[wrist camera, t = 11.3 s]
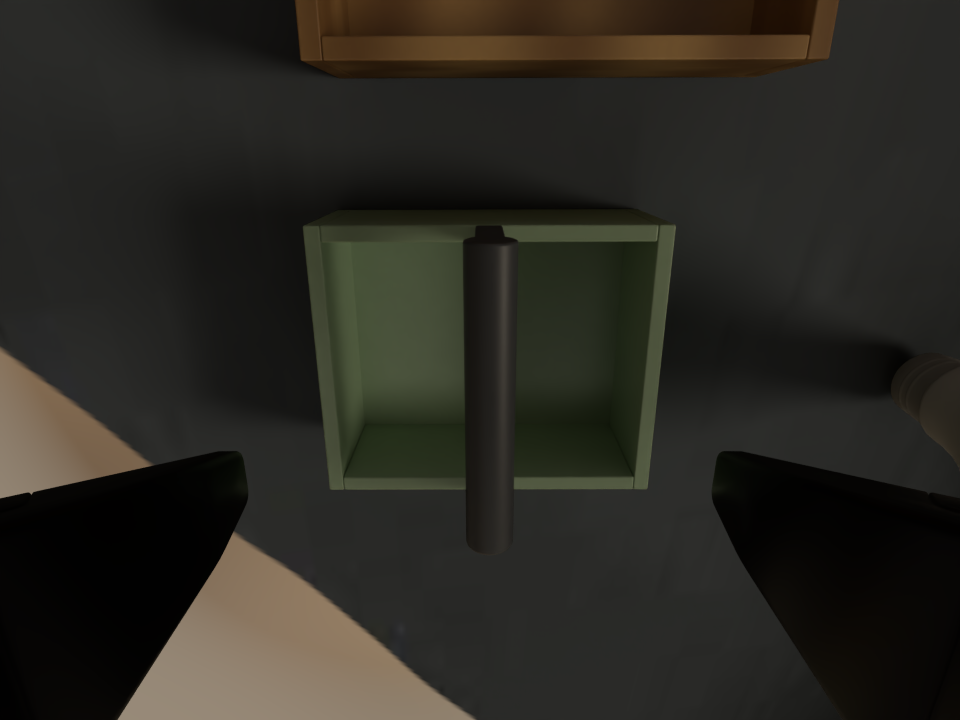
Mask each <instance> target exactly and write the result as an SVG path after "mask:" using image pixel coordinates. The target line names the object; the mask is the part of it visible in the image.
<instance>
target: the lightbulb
mask: <svg viewBox="0 0 960 720" xmlns="http://www.w3.org/2000/svg"><path fill="white" fill-rule="evenodd" d="M891 395H892V398H893V400H894V402H895V403H896V404H897V405H898V406H899V407H900V408H901V409H903V410H904V411H905V412H906V413H907V414H909V415H910V416H912V417H913V418H914V419H915V420H917V421H919V422H920V423H921V426H922V427H923V429H924V430H925V432H926V433H927V434H928V435H929V436H930V437H931V438H932V439H933V440H935V441H936V442H937V443H938V444H940V445H941V446H942V447H944V449H945V450H946V451H947V452H948V453H949V454H950V455H951V456H952V457H953V458H954V460H955V462H956V463H957V465H958V467H959V470H960V360H957V359H954V358H952V357H949V356H945V355H942V354H939V353H925V354H921V355H918V356H916V357H913V358H911V359H910V360H908V361H906V362H905V363H904V364H903V365H902V366H901V367H900V368H899V369H898V370H897V371H896V373H895V375H894V377H893V380H892V384H891Z"/></svg>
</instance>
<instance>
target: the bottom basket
mask: <svg viewBox="0 0 960 720" xmlns="http://www.w3.org/2000/svg"><path fill="white" fill-rule="evenodd" d="M838 3H839V0H295V8H296V18H297V28H298V39H299V49H300V59H301V61H303V62H306V63H308V64H310V65H312V66H314V67H316V68H318V69H320V70H323V71H325V72H327V73H329V74H331V75H333V76H335V77H338V78H598V77H757V76H761V75H765V74H769V73H773V72H777V71H782V70H786V69H790V68H794V67H798V66H802V65H806V64H810V63H814V62H818V61H822V60H826V59H828V58H829V53H830V47H831V42H832V36H833V31H834V25H835V19H836V14H837V8H838Z"/></svg>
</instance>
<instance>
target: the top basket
mask: <svg viewBox="0 0 960 720" xmlns="http://www.w3.org/2000/svg"><path fill="white" fill-rule="evenodd" d="M675 229H676V225H674V224H672V223H670V222H667V221H665V220H662V219H660V218H657V217H655V216H653V215H650V214H648V213H645V212H643V211H641V210H638V209H486V210H337V211H335V212H333V213H330V214H328V215H326V216H324V217H322V218H319V219H317V220H315V221H313V222H311V223H309V224H306V225H304V226H303V235H304V244H305V254H306V264H307V273H308V283H309V293H310V302H311V312H312V321H313V331H314V341H315V350H316V360H317V369H318V379H319V389H320V398H321V408H322V418H323V427H324V437H325V446H326V456H327V466H328V475H329V485H330V489H331V490H334V489H344V488H345V489H466V541H467V544H468V545H469V547H470V548H471V549H472V550H473V551H475V552H477V553H480V554H484V555H495V554H500V553H502V552H504V551H506V550H507V549H509V548H510V546H511V544H512V542H513V506H514V489H632V488H633V489H647V486H648V477H649V467H650V458H651V449H652V440H653V431H654V422H655V412H656V403H657V394H658V385H659V376H660V366H661V357H662V348H663V339H664V330H665V321H666V311H667V302H668V293H669V284H670V275H671V266H672V256H673V247H674V238H675Z"/></svg>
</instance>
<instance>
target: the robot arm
mask: <svg viewBox="0 0 960 720" xmlns="http://www.w3.org/2000/svg"><path fill="white" fill-rule="evenodd" d="M247 500H248V485H247V479H246V473H245V466H244V460H243V457H242V455H241V453H239V452H238V451H218V452H213V453H209V454H204V455H200V456H195V457H190V458H186V459H181V460H177V461H172V462H168V463H163V464H159V465H154V466H150V467H145V468H140V469H136V470H131V471H127V472H122V473H118V474H113V475H109V476H104V477H100V478H95V479H90V480H86V481H82V482H77V483H72V484H68V485H63V486H59V487H54V488H50V489H45V490H41V491H36V492H33V493H32V495H31V494H30V493H23V494H19V495H14V496H9V497H5V498H0V720H118V718H119V717H120V715H121V713H122V712H123V710H124V709H125V707H126V706H127V704H128V703H129V701H130V699H131V698H132V696H133V695H134V693H135V692H136V690H137V688H138V687H139V685H140V684H141V682H142V681H143V679H144V677H145V676H146V674H147V673H148V671H149V670H150V668H151V667H152V665H153V663H154V662H155V660H156V659H157V657H158V656H159V654H160V653H161V651H162V649H163V648H164V646H165V645H166V643H167V642H168V640H169V638H170V637H171V635H172V634H173V632H174V631H175V629H176V628H177V626H178V624H179V623H180V621H181V620H182V618H183V617H184V615H185V614H186V612H187V610H188V609H189V607H190V606H191V604H192V603H193V601H194V599H195V598H196V596H197V595H198V593H199V592H200V590H201V589H202V587H203V585H204V584H205V582H206V581H207V579H208V578H209V576H210V575H211V573H212V571H213V570H214V568H215V566H216V565H217V563H218V561H219V560H220V558H221V556H222V554H223V552H224V550H225V548H226V546H227V544H228V542H229V540H230V538H231V536H232V533H233V531H234V529H235V527H236V525H237V523H238V521H239V519H240V517H241V514H242V512H243V510H244V508H245V506H246V503H247ZM712 500H713V503H714V506H715V508H716V510H717V512H718V514H719V517H720V519H721V521H722V523H723V525H724V527H725V529H726V531H727V533H728V536H729V538H730V540H731V542H732V544H733V546H734V548H735V550H736V552H737V554H738V556H739V558H740V560H741V561H742V563H743V565H744V566H745V568H746V570H747V571H748V573H749V575H750V576H751V578H752V579H753V581H754V582H755V584H756V585H757V587H758V589H759V590H760V592H761V593H762V595H763V596H764V598H765V599H766V601H767V603H768V604H769V606H770V607H771V609H772V610H773V612H774V613H775V615H776V617H777V618H778V620H779V621H780V623H781V624H782V626H783V628H784V629H785V631H786V632H787V634H788V635H789V637H790V638H791V640H792V642H793V643H794V645H795V646H796V648H797V649H798V651H799V652H800V654H801V656H802V657H803V659H804V660H805V662H806V663H807V665H808V667H809V668H810V670H811V671H812V673H813V674H814V676H815V677H816V679H817V681H818V682H819V684H820V685H821V687H822V688H823V690H824V692H825V693H826V695H827V696H828V698H829V699H830V701H831V702H832V704H833V706H834V707H835V709H836V710H837V712H838V713H839V715H840V717H841V718H842V720H960V498H955V497H951V496H946V495H941V494H937V493H930V494H929V495H928V493H927V492H924V491H920V490H915V489H911V488H906V487H902V486H897V485H892V484H888V483H883V482H879V481H874V480H870V479H865V478H861V477H856V476H852V475H847V474H842V473H838V472H833V471H829V470H824V469H820V468H815V467H811V466H806V465H801V464H797V463H792V462H788V461H783V460H779V459H774V458H770V457H765V456H761V455H756V454H751V453H747V452H742V451H722V452H721V453H719V455H718V457H717V460H716V466H715V473H714V479H713V485H712Z"/></svg>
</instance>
